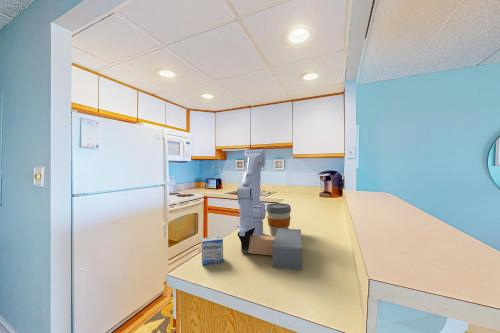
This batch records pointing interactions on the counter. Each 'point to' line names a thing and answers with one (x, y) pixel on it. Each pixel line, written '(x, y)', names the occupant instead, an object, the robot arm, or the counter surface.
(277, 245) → the block
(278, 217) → the reusable coffee cup
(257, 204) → the robot arm
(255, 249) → the grey and tan block
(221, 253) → the medicine box
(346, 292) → the counter surface
